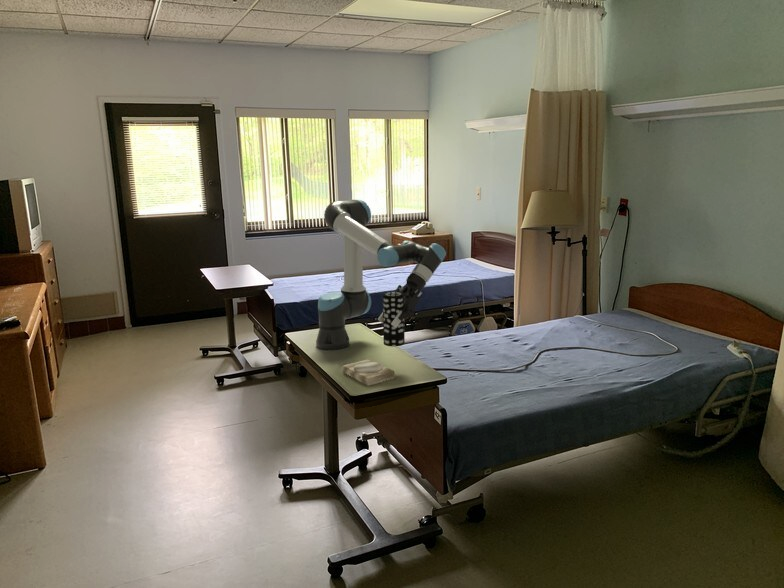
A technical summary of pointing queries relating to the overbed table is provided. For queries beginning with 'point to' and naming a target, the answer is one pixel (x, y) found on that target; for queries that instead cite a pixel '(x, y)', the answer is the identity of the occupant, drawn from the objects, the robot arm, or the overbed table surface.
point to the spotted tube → (390, 310)
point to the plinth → (368, 372)
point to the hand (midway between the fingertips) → (386, 323)
